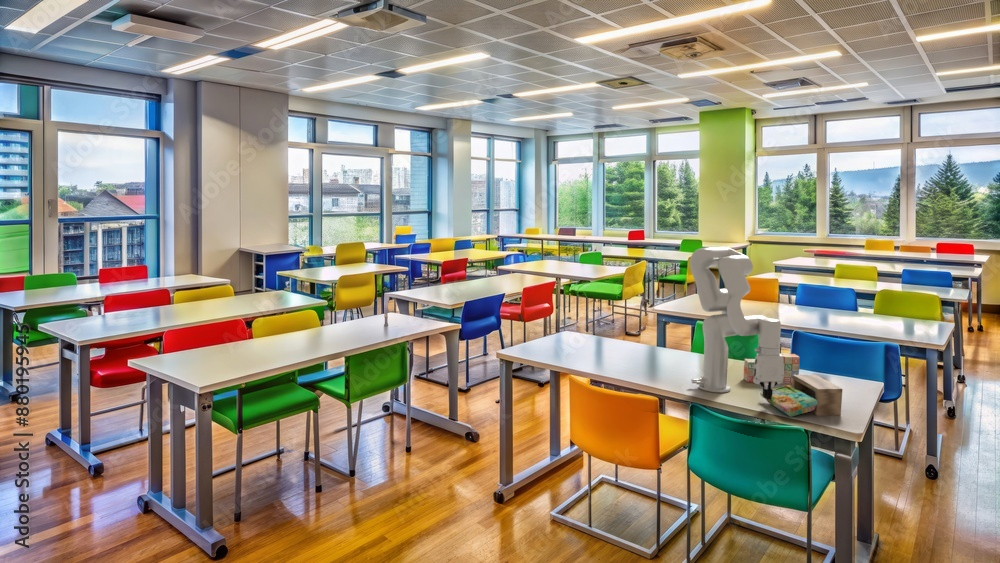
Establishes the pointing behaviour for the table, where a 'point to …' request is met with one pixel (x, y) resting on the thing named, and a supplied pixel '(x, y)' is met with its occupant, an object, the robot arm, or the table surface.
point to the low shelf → (820, 393)
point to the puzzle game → (791, 400)
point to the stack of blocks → (789, 367)
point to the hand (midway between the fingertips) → (767, 398)
